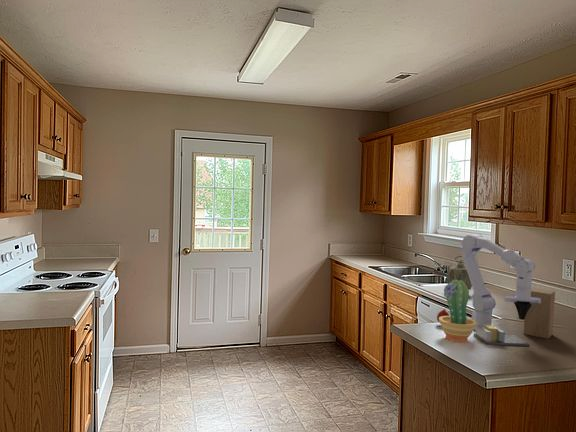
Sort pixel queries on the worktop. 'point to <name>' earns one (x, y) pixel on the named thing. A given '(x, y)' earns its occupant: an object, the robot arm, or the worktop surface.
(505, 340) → the vise
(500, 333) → the block
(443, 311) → the pomegranate
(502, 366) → the worktop surface
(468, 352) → the worktop surface
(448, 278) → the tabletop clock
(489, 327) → the brass block
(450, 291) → the potted cactus
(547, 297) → the wooden block
